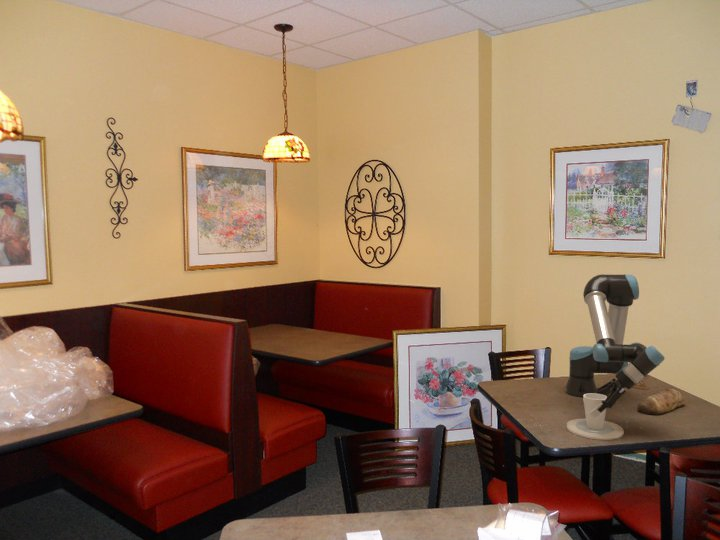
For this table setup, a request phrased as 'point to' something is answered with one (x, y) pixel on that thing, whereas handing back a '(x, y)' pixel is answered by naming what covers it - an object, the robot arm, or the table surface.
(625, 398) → the table surface
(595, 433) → the plate
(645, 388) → the gingerbread man figurine
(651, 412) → the bread loaf
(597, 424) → the foam cup
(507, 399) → the table surface
